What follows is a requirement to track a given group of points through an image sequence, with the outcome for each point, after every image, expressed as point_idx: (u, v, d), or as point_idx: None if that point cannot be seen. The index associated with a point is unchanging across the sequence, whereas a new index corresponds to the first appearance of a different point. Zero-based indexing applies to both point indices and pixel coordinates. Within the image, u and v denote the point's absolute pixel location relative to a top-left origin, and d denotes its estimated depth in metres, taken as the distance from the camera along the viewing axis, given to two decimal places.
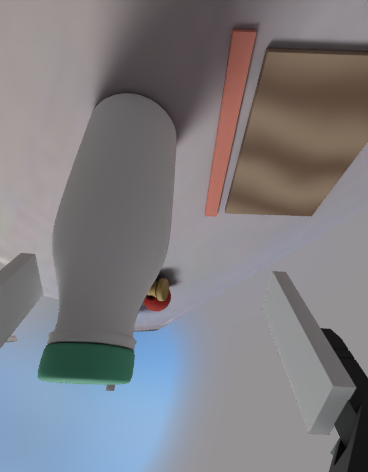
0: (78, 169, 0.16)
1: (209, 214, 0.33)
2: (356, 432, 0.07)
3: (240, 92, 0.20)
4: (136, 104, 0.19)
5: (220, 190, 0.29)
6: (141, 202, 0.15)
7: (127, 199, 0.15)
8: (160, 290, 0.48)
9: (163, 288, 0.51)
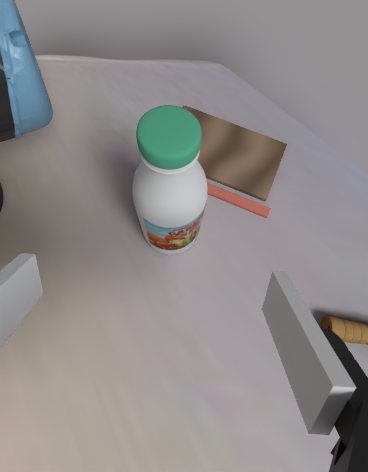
0: None
1: (266, 212, 0.37)
2: (356, 432, 0.07)
3: None
4: None
5: (238, 196, 0.38)
6: None
7: None
8: None
9: None
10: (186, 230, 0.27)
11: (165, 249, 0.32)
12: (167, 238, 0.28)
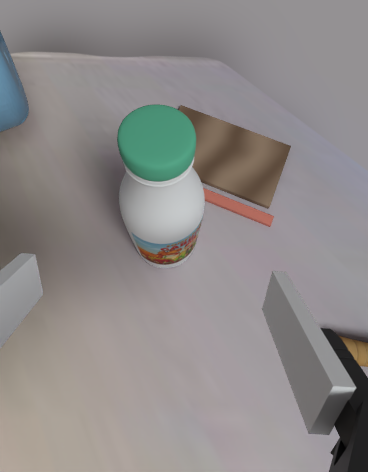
0: None
1: (269, 221, 0.34)
2: (356, 432, 0.07)
3: None
4: None
5: (238, 203, 0.35)
6: None
7: None
8: None
9: None
10: (181, 245, 0.24)
11: (159, 263, 0.29)
12: (160, 254, 0.25)
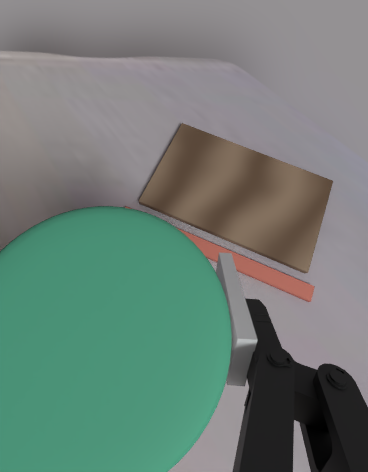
0: None
1: (309, 294, 0.24)
2: (255, 382, 0.08)
3: None
4: None
5: (264, 266, 0.25)
6: None
7: None
8: None
9: None
10: None
11: None
12: None
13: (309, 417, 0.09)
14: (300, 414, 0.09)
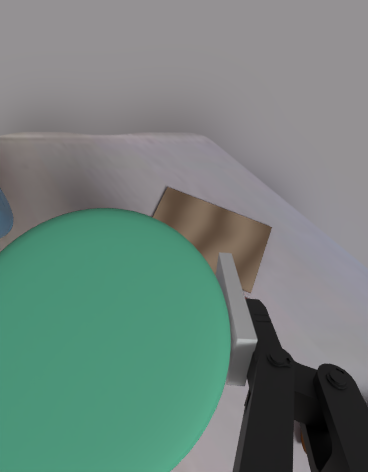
0: None
1: None
2: (255, 382, 0.08)
3: None
4: None
5: None
6: None
7: None
8: None
9: None
10: None
11: None
12: None
13: (309, 417, 0.09)
14: (300, 414, 0.09)
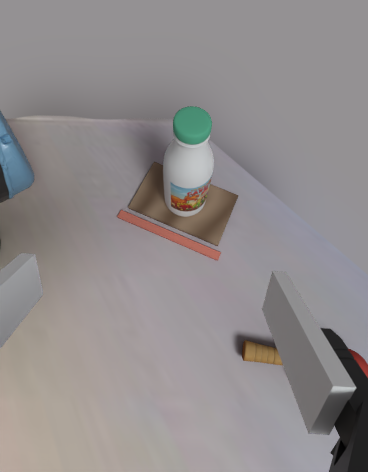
0: (163, 178, 0.40)
1: (217, 256, 0.45)
2: (356, 432, 0.07)
3: (139, 219, 0.47)
4: None
5: (194, 242, 0.46)
6: None
7: None
8: None
9: None
10: (199, 192, 0.39)
11: (182, 210, 0.44)
12: (185, 198, 0.40)
13: None
14: None
